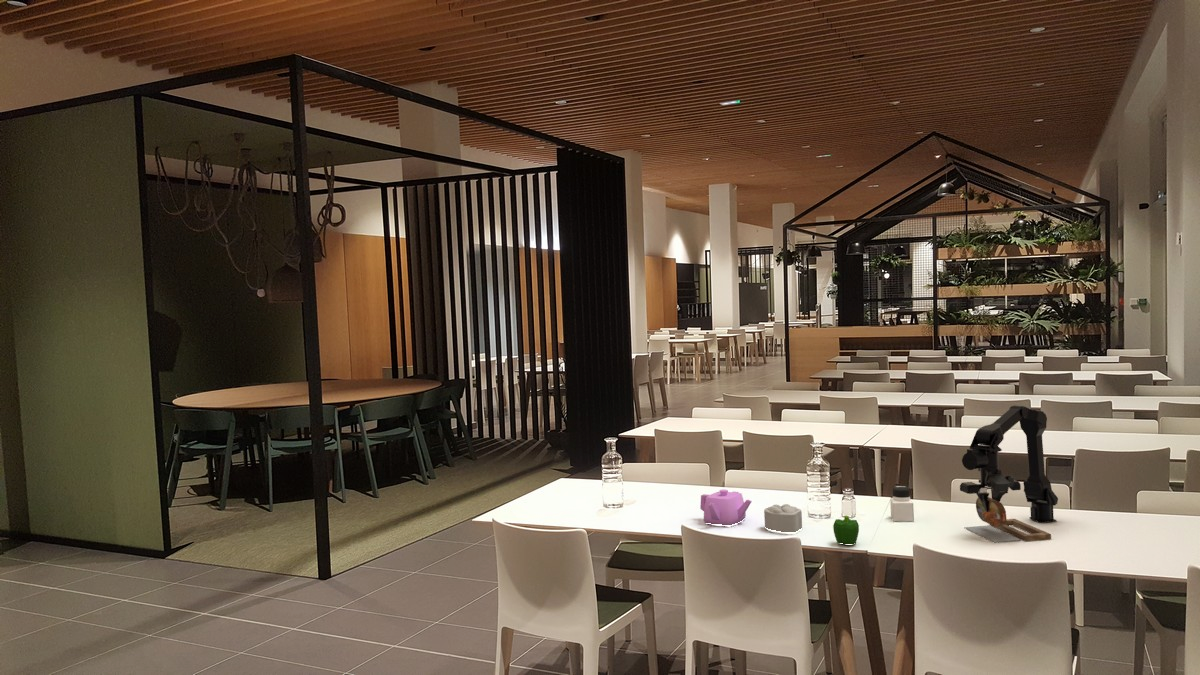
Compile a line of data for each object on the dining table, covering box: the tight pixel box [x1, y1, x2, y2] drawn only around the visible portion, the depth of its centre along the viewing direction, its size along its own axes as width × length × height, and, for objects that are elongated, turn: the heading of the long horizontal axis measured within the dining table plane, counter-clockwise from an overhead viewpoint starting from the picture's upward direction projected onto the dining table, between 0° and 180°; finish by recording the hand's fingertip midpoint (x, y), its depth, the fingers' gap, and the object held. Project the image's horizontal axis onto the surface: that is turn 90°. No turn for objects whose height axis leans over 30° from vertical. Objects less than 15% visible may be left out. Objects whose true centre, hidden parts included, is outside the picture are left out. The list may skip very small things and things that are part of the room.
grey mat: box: [963, 524, 1022, 544], centre depth 287 cm, size 9×19×1 cm, turn 5°
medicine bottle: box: [889, 485, 915, 522], centre depth 312 cm, size 7×7×12 cm
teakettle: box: [699, 488, 752, 525], centre depth 321 cm, size 17×17×12 cm
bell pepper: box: [832, 515, 860, 545], centre depth 284 cm, size 8×8×10 cm
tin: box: [975, 496, 1007, 527], centre depth 287 cm, size 15×3×8 cm, turn 5°
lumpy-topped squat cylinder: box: [763, 503, 803, 532], centre depth 306 cm, size 10×13×9 cm
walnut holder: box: [991, 518, 1052, 542], centre depth 288 cm, size 9×21×2 cm, turn 5°
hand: (991, 511), depth 287 cm, fingers closed on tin, 2 cm apart
